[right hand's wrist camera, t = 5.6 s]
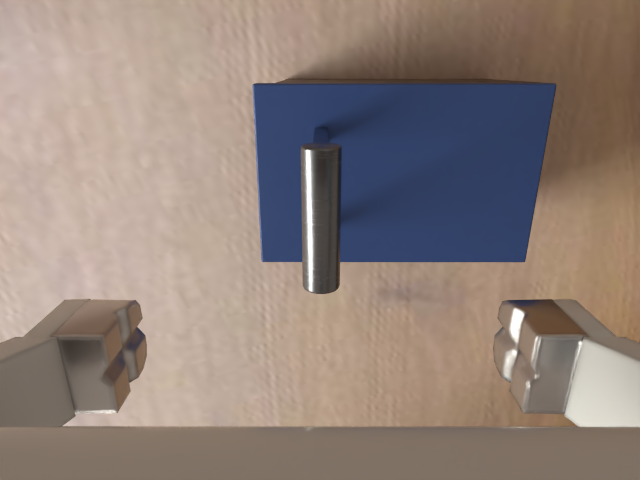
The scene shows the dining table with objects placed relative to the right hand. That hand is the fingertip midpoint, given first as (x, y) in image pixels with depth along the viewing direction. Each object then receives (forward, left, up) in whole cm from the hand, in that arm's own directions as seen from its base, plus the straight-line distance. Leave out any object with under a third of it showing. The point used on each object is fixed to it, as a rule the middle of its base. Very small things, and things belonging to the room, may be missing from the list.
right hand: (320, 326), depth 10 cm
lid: (+2, +4, -15) cm, 16 cm away
